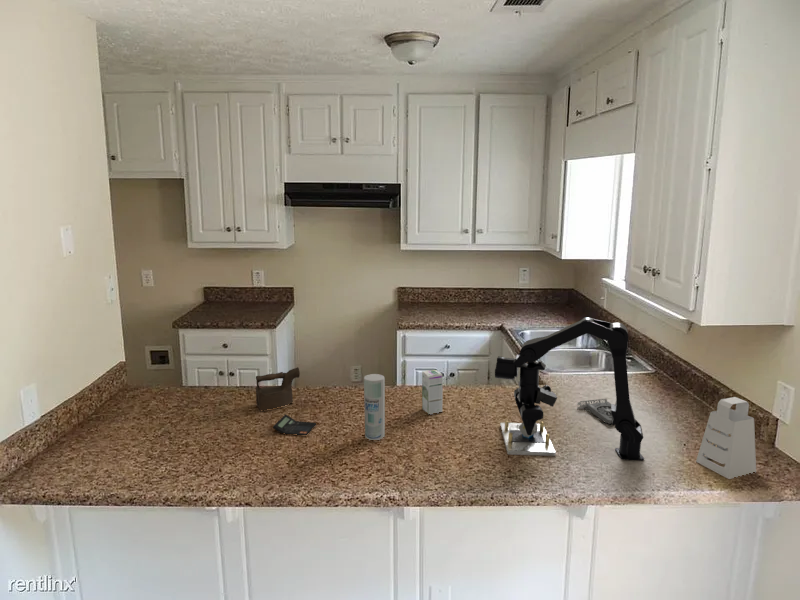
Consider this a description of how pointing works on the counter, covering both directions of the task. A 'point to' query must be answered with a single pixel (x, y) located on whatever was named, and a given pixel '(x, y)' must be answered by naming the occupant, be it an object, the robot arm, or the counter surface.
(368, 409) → the spray can
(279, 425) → the calculator
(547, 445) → the chassis plate
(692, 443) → the counter surface
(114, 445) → the counter surface
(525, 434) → the electric motor
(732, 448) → the grater
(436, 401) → the syrup box
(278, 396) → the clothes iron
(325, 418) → the counter surface
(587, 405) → the graphics card
